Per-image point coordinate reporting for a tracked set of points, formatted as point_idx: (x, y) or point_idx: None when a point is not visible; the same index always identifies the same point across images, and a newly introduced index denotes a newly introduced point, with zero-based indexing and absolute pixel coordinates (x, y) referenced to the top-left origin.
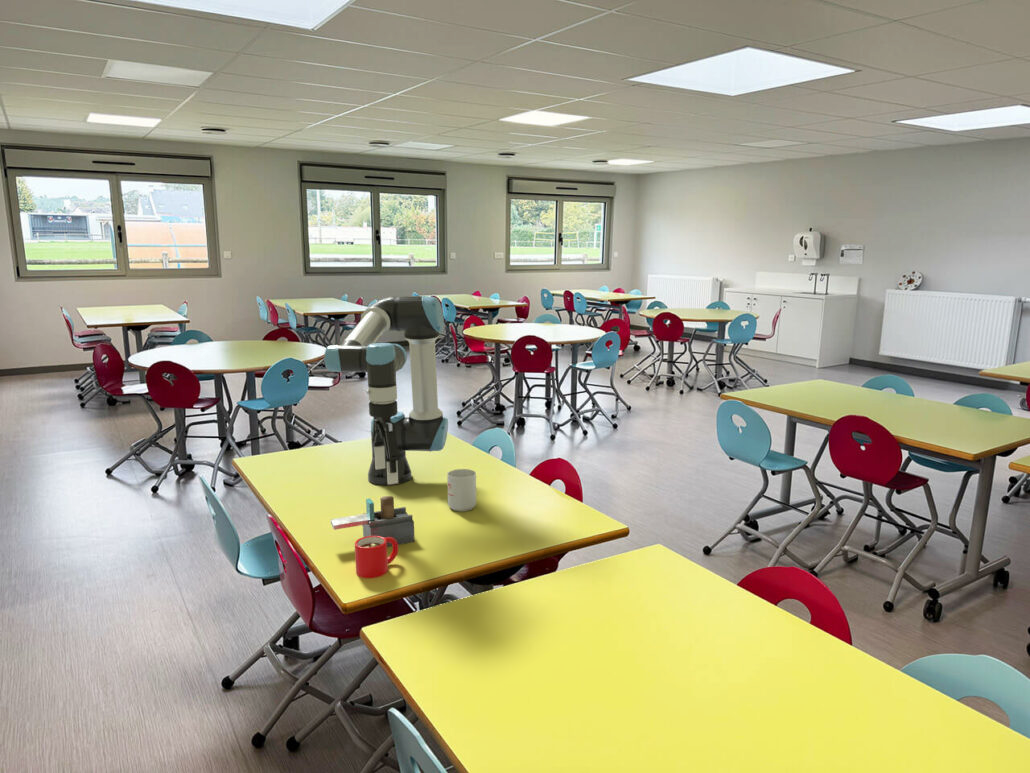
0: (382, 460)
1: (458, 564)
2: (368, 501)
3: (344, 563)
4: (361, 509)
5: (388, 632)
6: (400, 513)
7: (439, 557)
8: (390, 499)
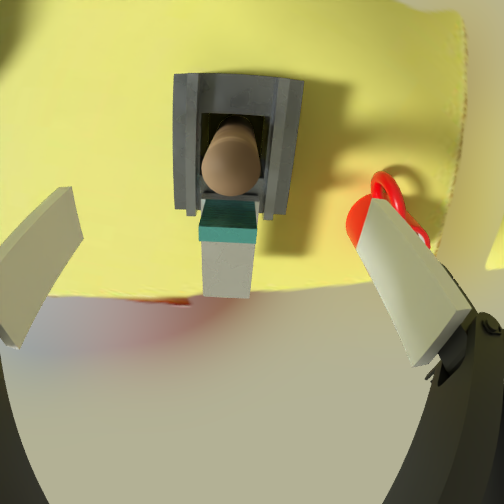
0: (47, 230)
1: (447, 74)
2: (229, 240)
3: (311, 253)
4: (32, 159)
5: (493, 254)
6: (208, 94)
7: (405, 80)
8: (255, 161)
